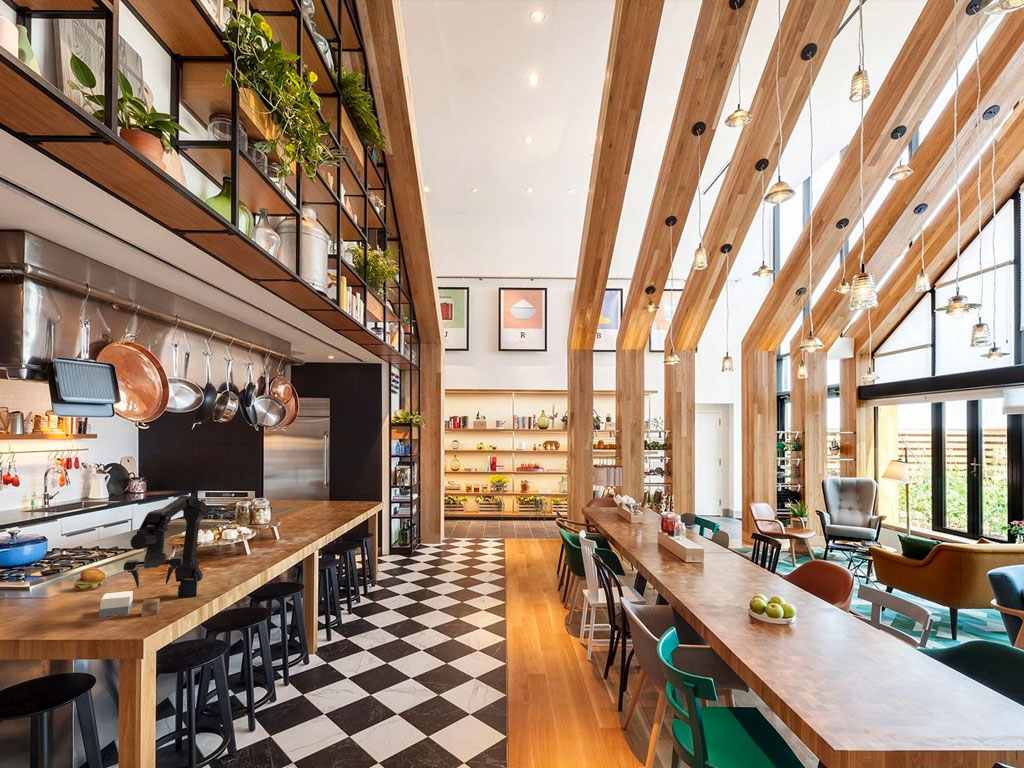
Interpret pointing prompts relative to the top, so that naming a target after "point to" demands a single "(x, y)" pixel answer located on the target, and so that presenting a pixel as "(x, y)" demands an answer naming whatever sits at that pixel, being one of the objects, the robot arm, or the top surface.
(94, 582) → the cheeseburger
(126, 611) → the tower base slab
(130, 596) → the tower top slab
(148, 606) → the walnut block
